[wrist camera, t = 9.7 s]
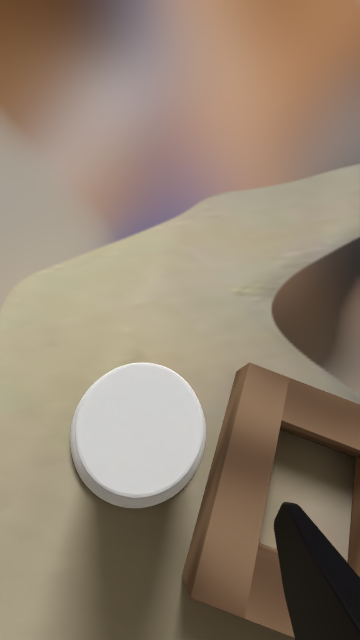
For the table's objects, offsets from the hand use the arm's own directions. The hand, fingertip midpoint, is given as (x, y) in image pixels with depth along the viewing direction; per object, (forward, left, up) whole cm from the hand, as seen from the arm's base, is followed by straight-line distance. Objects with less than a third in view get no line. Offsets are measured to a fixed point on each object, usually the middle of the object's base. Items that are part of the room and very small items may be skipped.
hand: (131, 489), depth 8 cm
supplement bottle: (+2, 0, -10) cm, 10 cm away
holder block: (+2, -11, -10) cm, 15 cm away
